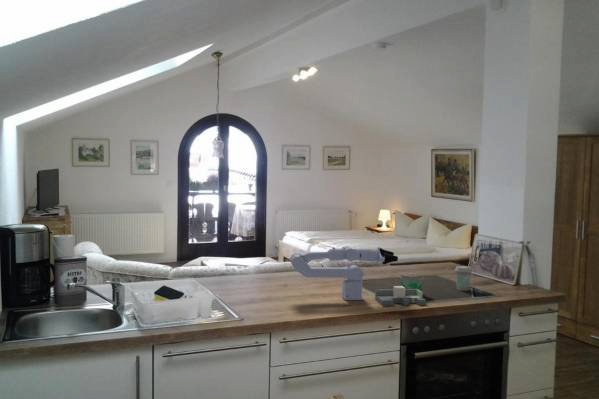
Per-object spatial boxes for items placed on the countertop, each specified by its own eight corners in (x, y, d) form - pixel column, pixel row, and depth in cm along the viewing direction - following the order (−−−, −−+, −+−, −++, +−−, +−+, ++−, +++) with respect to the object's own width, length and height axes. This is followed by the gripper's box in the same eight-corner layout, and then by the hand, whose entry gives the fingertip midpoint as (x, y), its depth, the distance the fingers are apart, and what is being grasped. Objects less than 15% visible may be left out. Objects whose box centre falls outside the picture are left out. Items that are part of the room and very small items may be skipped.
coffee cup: (461, 292, 289) (462, 268, 288) (450, 288, 297) (451, 266, 296) (474, 290, 292) (475, 268, 291) (464, 287, 300) (465, 265, 299)
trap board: (382, 305, 257) (382, 295, 257) (375, 299, 268) (375, 289, 268) (425, 304, 260) (426, 294, 260) (417, 299, 271) (417, 289, 271)
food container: (403, 297, 275) (404, 277, 274) (399, 294, 281) (399, 274, 280) (427, 296, 277) (428, 276, 276) (422, 293, 283) (423, 274, 282)
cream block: (395, 297, 263) (396, 288, 263) (392, 295, 268) (393, 286, 268) (405, 297, 264) (405, 288, 264) (402, 295, 268) (402, 285, 268)
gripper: (372, 250, 262) (400, 252, 263) (365, 243, 276) (392, 245, 278) (370, 265, 263) (398, 266, 264) (364, 257, 277) (390, 258, 279)
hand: (395, 256), depth 271 cm, fingers open, 7 cm apart
